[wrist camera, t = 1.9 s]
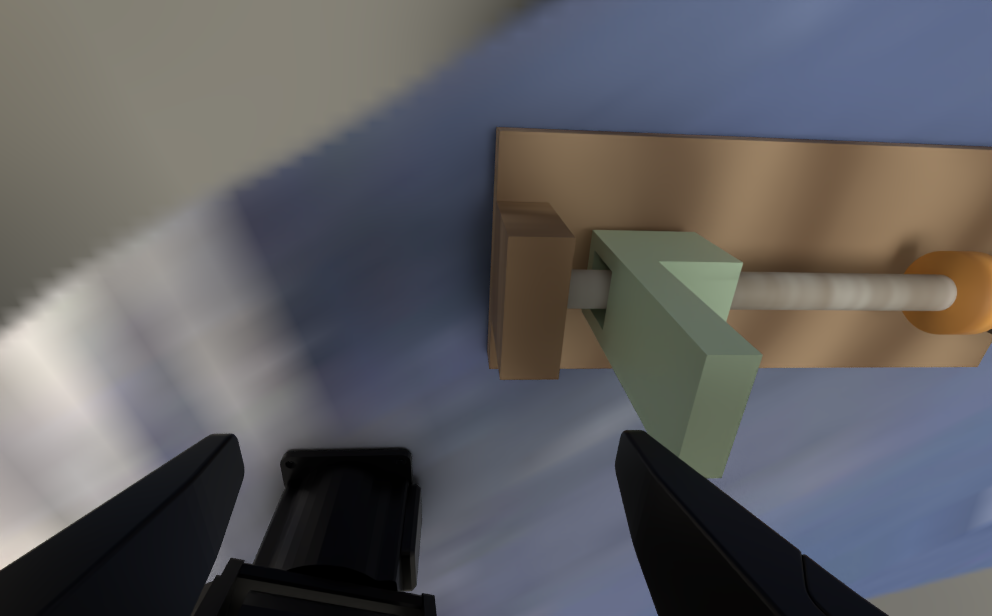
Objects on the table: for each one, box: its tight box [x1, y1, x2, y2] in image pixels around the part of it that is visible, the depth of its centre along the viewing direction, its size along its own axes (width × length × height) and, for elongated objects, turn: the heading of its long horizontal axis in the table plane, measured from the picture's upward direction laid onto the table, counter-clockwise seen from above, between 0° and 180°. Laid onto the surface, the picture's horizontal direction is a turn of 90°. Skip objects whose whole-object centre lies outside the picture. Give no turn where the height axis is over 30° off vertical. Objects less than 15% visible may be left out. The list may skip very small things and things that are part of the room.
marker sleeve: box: [582, 230, 763, 478], centre depth 14 cm, size 4×3×9 cm
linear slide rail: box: [487, 127, 992, 380], centre depth 18 cm, size 24×10×6 cm, turn 88°
